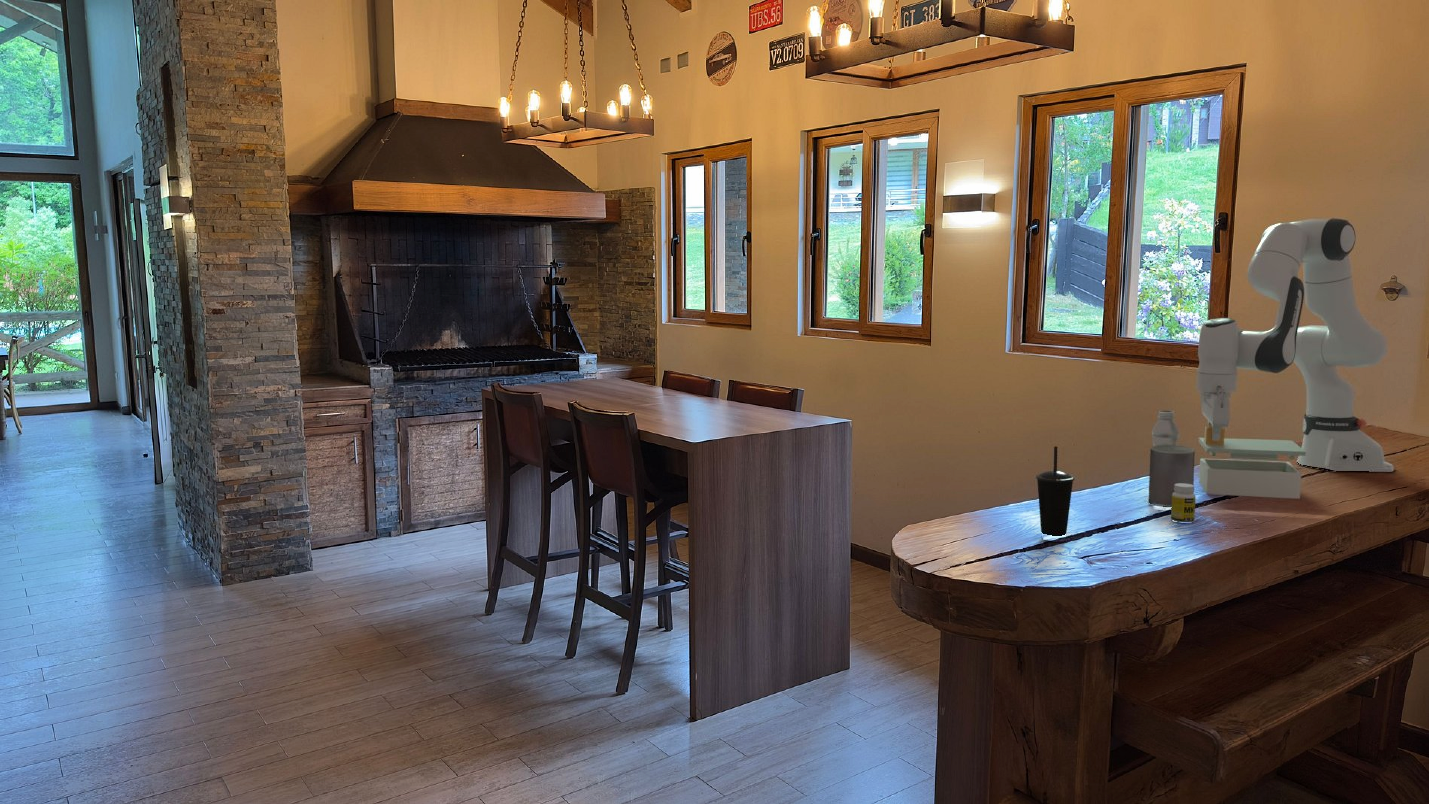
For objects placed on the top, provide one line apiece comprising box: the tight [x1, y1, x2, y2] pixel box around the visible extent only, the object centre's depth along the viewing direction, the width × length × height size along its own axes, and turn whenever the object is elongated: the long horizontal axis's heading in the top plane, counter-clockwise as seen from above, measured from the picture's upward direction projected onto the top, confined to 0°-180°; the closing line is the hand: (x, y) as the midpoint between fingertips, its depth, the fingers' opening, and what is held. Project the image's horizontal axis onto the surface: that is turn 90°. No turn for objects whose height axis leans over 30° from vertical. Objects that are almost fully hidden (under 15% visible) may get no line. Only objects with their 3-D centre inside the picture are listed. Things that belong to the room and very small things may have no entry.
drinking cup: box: [1035, 446, 1075, 536], centre depth 200 cm, size 8×8×20 cm
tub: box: [1198, 458, 1302, 500], centre depth 237 cm, size 20×14×7 cm
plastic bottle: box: [1151, 409, 1180, 447], centre depth 243 cm, size 6×7×20 cm
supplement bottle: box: [1170, 483, 1197, 523], centre depth 212 cm, size 5×5×8 cm
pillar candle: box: [1147, 443, 1196, 507], centre depth 227 cm, size 10×10×15 cm
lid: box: [1198, 425, 1306, 461], centre depth 236 cm, size 21×15×6 cm
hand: (1214, 438), depth 238 cm, fingers closed on lid, 3 cm apart
